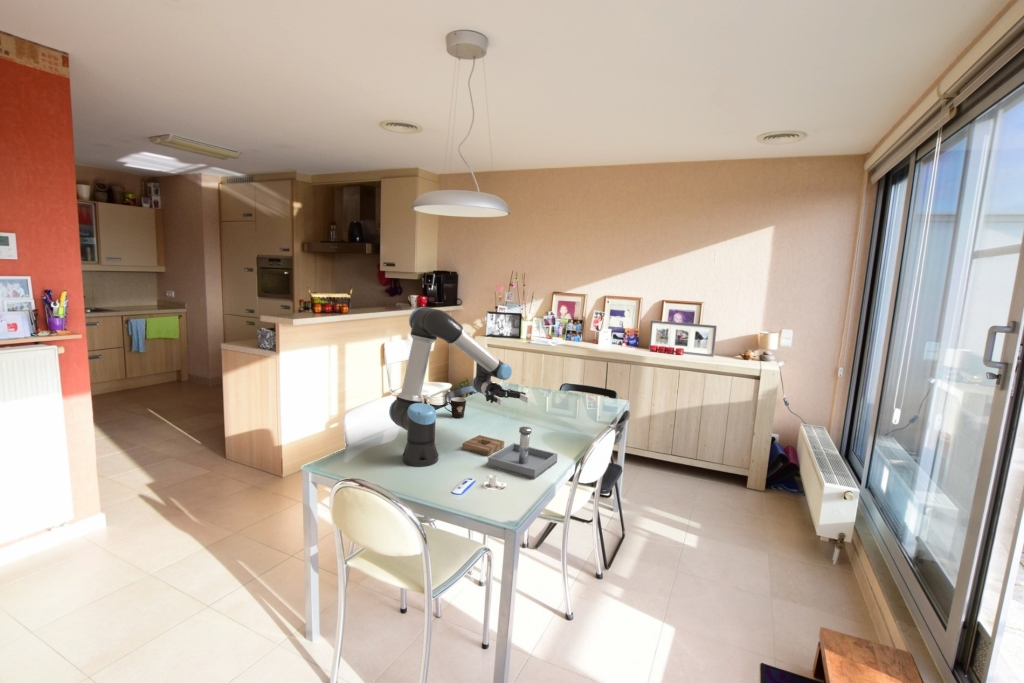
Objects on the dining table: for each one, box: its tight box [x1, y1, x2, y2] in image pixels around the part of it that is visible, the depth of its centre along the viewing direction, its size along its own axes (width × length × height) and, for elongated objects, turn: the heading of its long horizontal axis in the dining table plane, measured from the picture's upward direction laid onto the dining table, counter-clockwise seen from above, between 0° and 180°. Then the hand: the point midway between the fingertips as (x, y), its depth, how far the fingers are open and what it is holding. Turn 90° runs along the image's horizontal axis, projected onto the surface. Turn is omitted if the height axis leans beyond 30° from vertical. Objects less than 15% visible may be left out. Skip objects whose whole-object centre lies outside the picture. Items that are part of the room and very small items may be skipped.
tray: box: [487, 442, 558, 480], centre depth 215 cm, size 22×22×4 cm
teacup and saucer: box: [482, 474, 507, 491], centre depth 192 cm, size 9×8×4 cm
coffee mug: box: [443, 396, 467, 420], centre depth 278 cm, size 12×9×10 cm
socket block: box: [461, 434, 505, 457], centre depth 232 cm, size 14×14×3 cm
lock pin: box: [518, 426, 532, 464], centre depth 214 cm, size 5×5×15 cm
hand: (515, 401), depth 220 cm, fingers open, 13 cm apart
